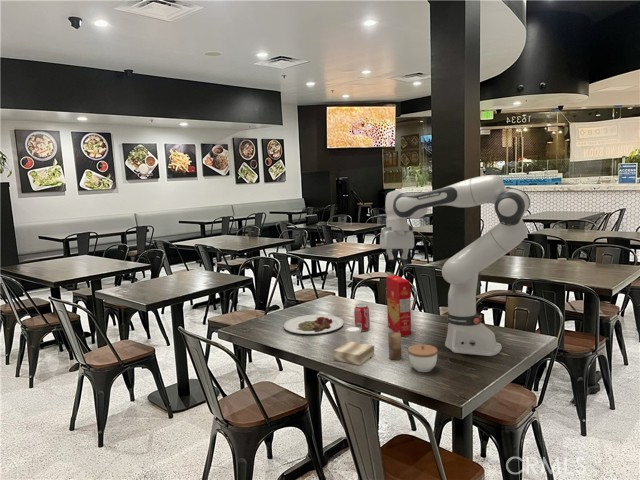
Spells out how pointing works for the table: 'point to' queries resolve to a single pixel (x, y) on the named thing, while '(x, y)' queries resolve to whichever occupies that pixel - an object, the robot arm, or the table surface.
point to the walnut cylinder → (394, 346)
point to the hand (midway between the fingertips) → (398, 259)
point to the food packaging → (398, 305)
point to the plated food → (313, 324)
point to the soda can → (362, 317)
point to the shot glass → (353, 334)
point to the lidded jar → (423, 357)
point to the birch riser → (354, 352)
